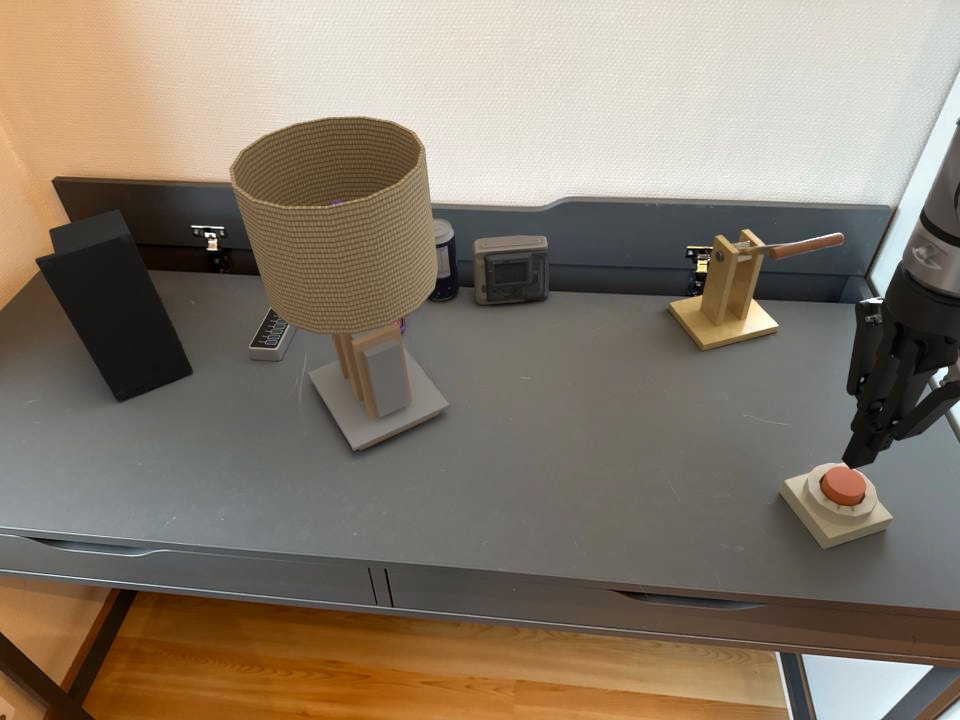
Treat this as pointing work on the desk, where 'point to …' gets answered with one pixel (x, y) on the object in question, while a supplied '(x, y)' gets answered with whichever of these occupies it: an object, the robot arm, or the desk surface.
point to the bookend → (113, 304)
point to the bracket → (726, 299)
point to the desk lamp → (347, 258)
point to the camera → (511, 269)
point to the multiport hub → (271, 338)
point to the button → (843, 486)
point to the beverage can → (445, 261)
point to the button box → (833, 509)
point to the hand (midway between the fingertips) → (857, 460)
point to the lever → (788, 247)
